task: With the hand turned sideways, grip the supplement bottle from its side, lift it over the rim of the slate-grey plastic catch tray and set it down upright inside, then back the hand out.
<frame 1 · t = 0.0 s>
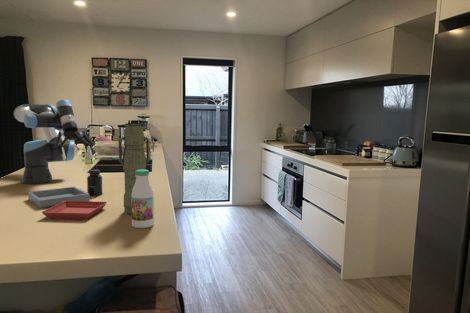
hand: (78, 158, 188), 15 cm above the table, tool tilted 35°, fingers open, 13 cm apart
supplement bottle: (95, 194, 172), on the table
milk bottle: (143, 225, 127), on the table
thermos: (135, 212, 144), on the table
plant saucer: (76, 215, 140), on the table
catch tray: (58, 200, 160), on the table
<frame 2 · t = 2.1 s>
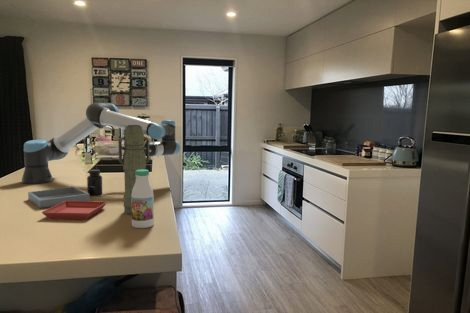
hand: (115, 151, 177), 20 cm above the table, tool horizontal, fingers open, 13 cm apart
nothing on the table moved.
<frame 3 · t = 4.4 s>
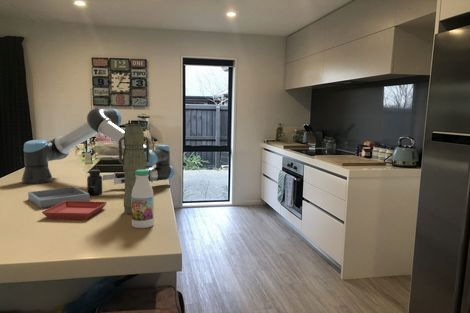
hand: (108, 179, 175), 7 cm above the table, tool horizontal, fingers open, 13 cm apart
nothing on the table moved.
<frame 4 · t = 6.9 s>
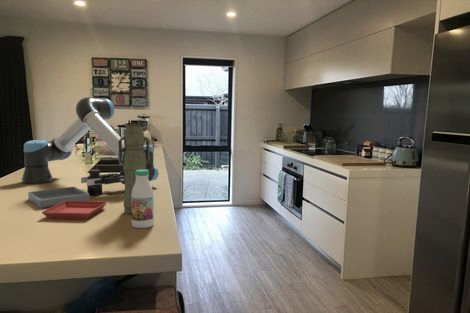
hand: (84, 181, 168), 7 cm above the table, tool horizontal, fingers closed on supplement bottle, 7 cm apart
supplement bottle: (95, 194, 172), on the table, touching gripper
everything else where it was.
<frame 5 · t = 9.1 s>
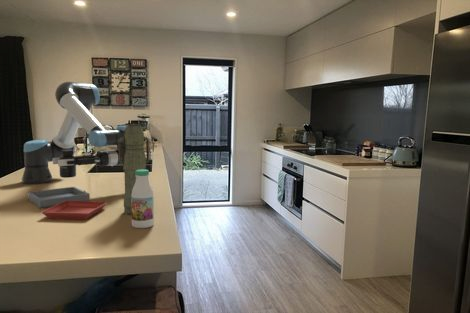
hand: (55, 162, 157), 18 cm above the table, tool horizontal, fingers closed on supplement bottle, 7 cm apart
supplement bottle: (68, 176, 161), point 10 cm above the table, touching gripper
everything else where it was.
when the fingers open (9 cm above the table, at t = 11.4 s): supplement bottle drops 1 cm, resting on catch tray.
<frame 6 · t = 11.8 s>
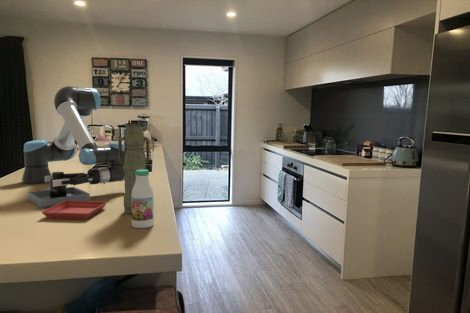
hand: (48, 181, 156), 9 cm above the table, tool horizontal, fingers open, 11 cm apart
supplement bottle: (58, 199, 160), point 1 cm above the table, touching catch tray
everything else where it was.
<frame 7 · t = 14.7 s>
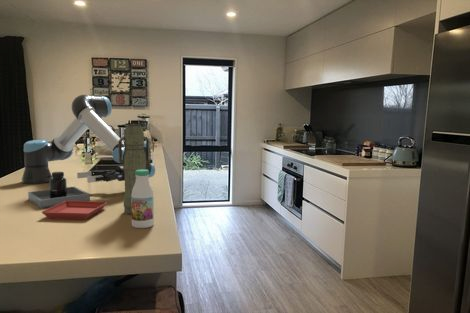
hand: (82, 177, 166), 9 cm above the table, tool horizontal, fingers open, 13 cm apart
nothing on the table moved.
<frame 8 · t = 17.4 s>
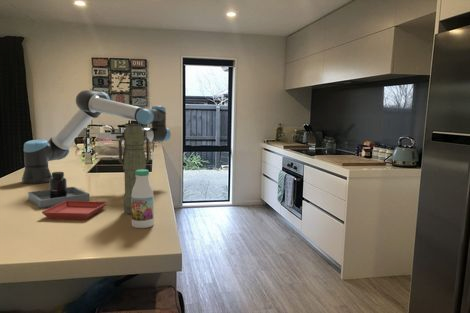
hand: (103, 136, 174), 28 cm above the table, tool horizontal, fingers open, 13 cm apart
nothing on the table moved.
at the end: supplement bottle inside the target area on the catch tray (0.3 cm from its centre), point 0.6 cm above the catch tray's base; supplement bottle tilted 0°; the gripper is holding nothing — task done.
